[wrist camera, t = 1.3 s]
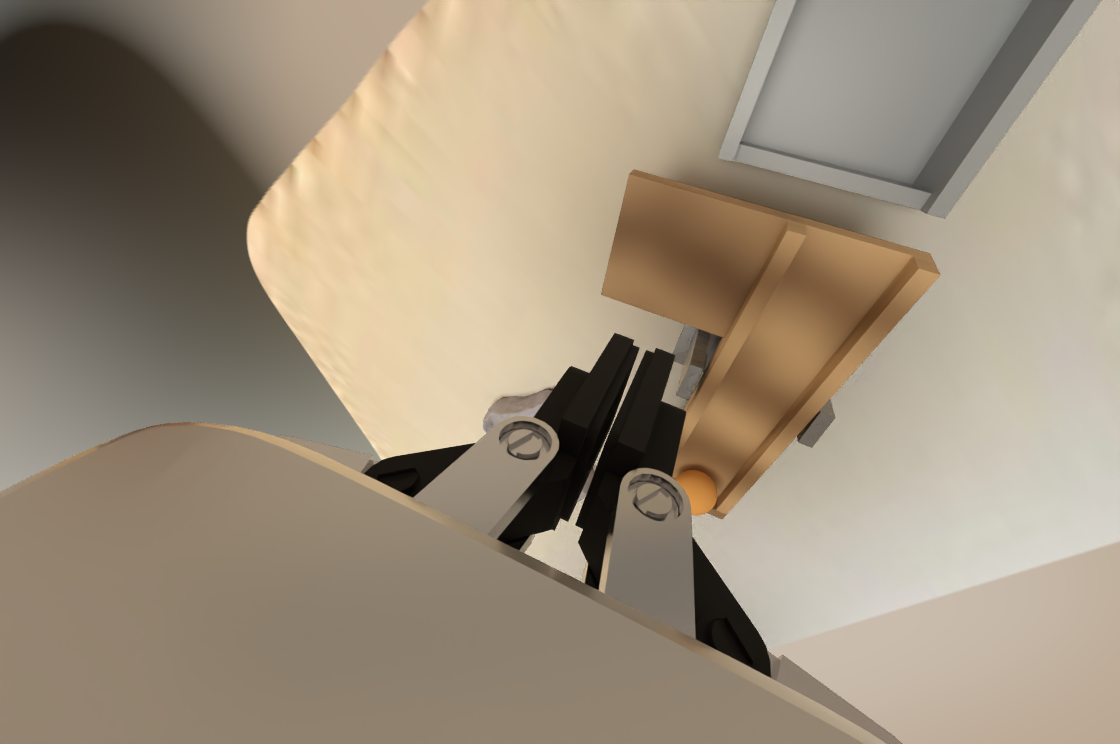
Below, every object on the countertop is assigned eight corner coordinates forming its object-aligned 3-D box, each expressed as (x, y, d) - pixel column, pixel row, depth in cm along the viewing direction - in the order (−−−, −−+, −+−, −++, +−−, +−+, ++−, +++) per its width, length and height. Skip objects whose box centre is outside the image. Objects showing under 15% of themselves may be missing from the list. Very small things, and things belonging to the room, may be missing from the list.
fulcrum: (799, 403, 32) (810, 473, 26) (671, 356, 34) (653, 411, 27) (845, 336, 28) (871, 399, 22) (700, 288, 30) (687, 333, 24)
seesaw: (728, 478, 35) (722, 519, 32) (579, 415, 37) (561, 449, 35) (920, 235, 19) (940, 274, 17) (644, 158, 22) (621, 182, 19)
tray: (915, 202, 24) (956, 225, 19) (722, 151, 26) (715, 160, 21) (1099, -74, 17) (1232, -146, 12) (821, -111, 19) (843, -184, 15)
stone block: (535, 472, 50) (606, 482, 43) (510, 500, 46) (582, 515, 40) (497, 385, 46) (569, 382, 39) (466, 409, 42) (540, 410, 36)
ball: (721, 487, 32) (711, 527, 30) (679, 475, 33) (668, 513, 32) (721, 469, 30) (710, 511, 28) (676, 457, 31) (663, 497, 30)
